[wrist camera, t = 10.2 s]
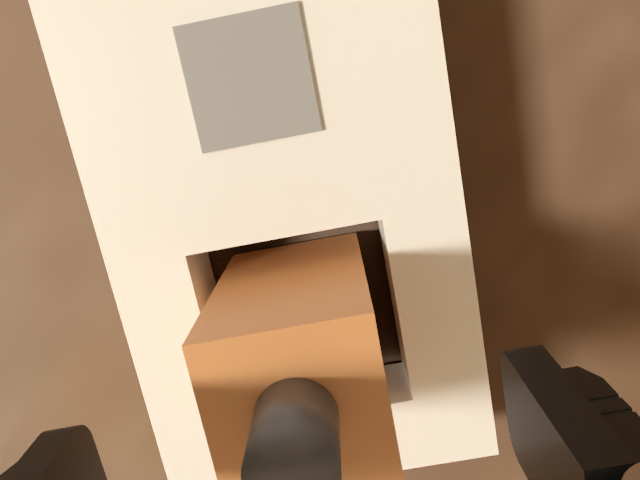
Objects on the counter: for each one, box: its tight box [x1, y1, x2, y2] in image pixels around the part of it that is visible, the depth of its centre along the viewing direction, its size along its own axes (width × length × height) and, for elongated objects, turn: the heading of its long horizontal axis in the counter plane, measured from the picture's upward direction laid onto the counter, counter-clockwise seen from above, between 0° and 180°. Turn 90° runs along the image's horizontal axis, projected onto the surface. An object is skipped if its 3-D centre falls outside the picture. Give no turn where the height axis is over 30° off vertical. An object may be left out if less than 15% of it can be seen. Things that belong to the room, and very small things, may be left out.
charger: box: [181, 232, 404, 480], centre depth 15 cm, size 4×4×9 cm
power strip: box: [28, 0, 499, 480], centre depth 17 cm, size 16×10×3 cm, turn 11°
